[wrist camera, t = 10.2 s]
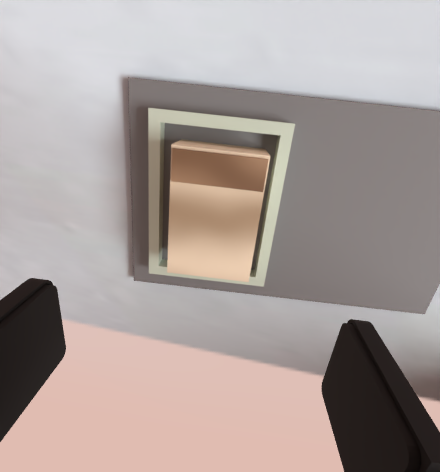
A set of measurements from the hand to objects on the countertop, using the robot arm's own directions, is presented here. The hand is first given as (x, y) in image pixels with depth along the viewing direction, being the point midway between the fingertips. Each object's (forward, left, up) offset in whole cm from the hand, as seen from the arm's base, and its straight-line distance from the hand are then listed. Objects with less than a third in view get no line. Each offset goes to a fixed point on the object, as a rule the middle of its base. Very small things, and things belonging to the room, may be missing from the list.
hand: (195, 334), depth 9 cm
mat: (-5, -3, -15) cm, 16 cm away
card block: (0, 0, -14) cm, 14 cm away
